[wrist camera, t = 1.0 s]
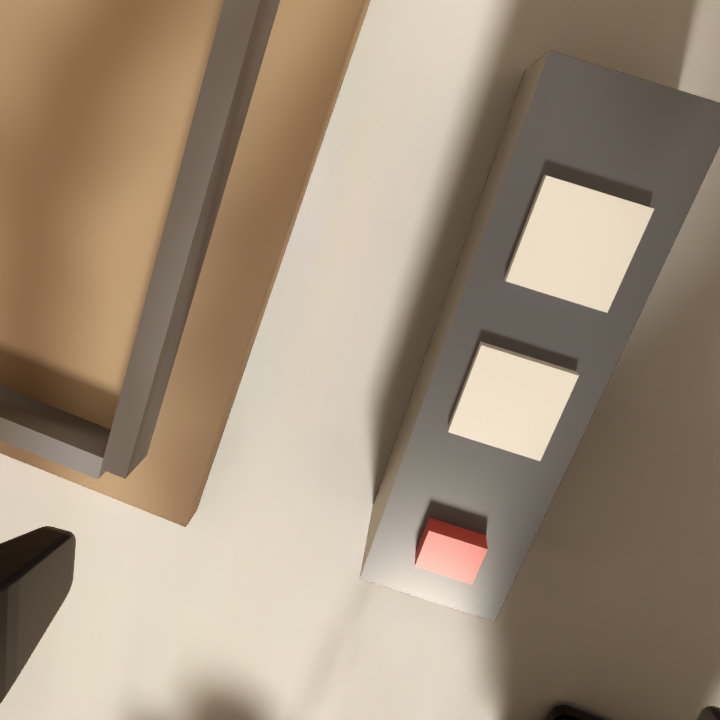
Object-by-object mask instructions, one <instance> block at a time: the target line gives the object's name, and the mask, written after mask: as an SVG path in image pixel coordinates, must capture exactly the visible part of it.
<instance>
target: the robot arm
mask: <svg viewBox="0 0 720 720" xmlns="http://www.w3.org/2000/svg"><path fill="white" fill-rule="evenodd" d="M75 546H76V539H75V536H74V534H73V533H71V532H69V531H66V530H62V529H58V528H54V527H50V526H45V527H41V528H38V529H36V530H33V531H31V532H28V533H26V534H23V535H21V536H18V537H16V538H13V539H11V540H8V541H6V542H3V543H1V544H0V703H1V702H2V701H3V699H4V698H5V696H6V695H7V693H8V692H9V690H10V689H11V687H12V685H13V684H14V682H15V681H16V679H17V677H18V676H19V674H20V673H21V671H22V669H23V668H24V666H25V664H26V663H27V661H28V659H29V658H30V656H31V654H32V653H33V651H34V649H35V648H36V646H37V645H38V643H39V641H40V640H41V638H42V636H43V635H44V633H45V631H46V630H47V628H48V626H49V625H50V623H51V621H52V620H53V618H54V617H55V615H56V613H57V612H58V610H59V608H60V607H61V605H62V603H63V602H64V600H65V598H66V597H67V595H68V593H69V591H70V588H71V585H72V581H73V573H74V560H75ZM545 720H603V719H600V718H598V717H595V716H593V715H590V714H588V713H585V712H583V711H580V710H578V709H575V708H573V707H570V706H566V705H560V706H557V707H554V708H553V709H552V710H551V711H550V713H549V714H548V715H547V717H546V718H545ZM696 720H720V708H719V707H715V706H707V707H706V708H704V709H703V710H702V711H701V712H700V714H699V716H698V718H697V719H696Z"/></svg>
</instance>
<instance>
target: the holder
mask: <svg viewBox="0 0 720 720" xmlns="http://www.w3.org/2000/svg"><path fill="white" fill-rule="evenodd" d="M369 3H370V0H0V453H1V454H4V455H6V456H9V457H11V458H14V459H16V460H19V461H21V462H24V463H26V464H29V465H31V466H34V467H36V468H39V469H42V470H44V471H47V472H49V473H52V474H54V475H57V476H59V477H62V478H64V479H67V480H69V481H72V482H74V483H77V484H79V485H82V486H84V487H87V488H89V489H92V490H94V491H97V492H99V493H102V494H104V495H107V496H109V497H112V498H114V499H117V500H119V501H122V502H124V503H127V504H129V505H132V506H134V507H137V508H139V509H142V510H144V511H147V512H149V513H152V514H154V515H157V516H159V517H162V518H164V519H167V520H169V521H172V522H174V523H177V524H179V525H182V526H184V527H186V526H187V525H188V523H189V521H190V520H191V518H192V517H193V515H194V514H195V512H196V511H197V508H198V505H199V502H200V499H201V496H202V493H203V490H204V487H205V484H206V481H207V479H208V476H209V473H210V470H211V467H212V464H213V461H214V458H215V455H216V452H217V449H218V446H219V443H220V440H221V437H222V434H223V432H224V429H225V426H226V423H227V420H228V417H229V414H230V411H231V408H232V405H233V402H234V399H235V396H236V393H237V390H238V388H239V385H240V382H241V379H242V376H243V373H244V370H245V367H246V364H247V361H248V358H249V355H250V352H251V349H252V346H253V343H254V341H255V338H256V335H257V332H258V329H259V326H260V323H261V320H262V317H263V314H264V311H265V308H266V305H267V302H268V299H269V297H270V294H271V291H272V288H273V285H274V282H275V279H276V276H277V273H278V270H279V267H280V264H281V261H282V258H283V255H284V253H285V250H286V247H287V244H288V241H289V238H290V235H291V232H292V229H293V226H294V223H295V220H296V217H297V214H298V211H299V208H300V206H301V203H302V200H303V197H304V194H305V191H306V188H307V185H308V182H309V179H310V176H311V173H312V170H313V167H314V164H315V162H316V159H317V156H318V153H319V150H320V147H321V144H322V141H323V138H324V135H325V132H326V129H327V126H328V123H329V120H330V117H331V115H332V112H333V109H334V106H335V103H336V100H337V97H338V94H339V91H340V88H341V85H342V82H343V79H344V76H345V73H346V71H347V68H348V65H349V62H350V59H351V56H352V53H353V50H354V47H355V44H356V41H357V38H358V35H359V32H360V29H361V26H362V24H363V21H364V18H365V15H366V12H367V9H368V6H369Z"/></svg>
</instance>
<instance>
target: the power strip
mask: <svg viewBox="0 0 720 720" xmlns="http://www.w3.org/2000/svg"><path fill="white" fill-rule="evenodd" d="M719 146H720V103H719V102H715V101H712V100H709V99H706V98H702V97H699V96H696V95H692V94H689V93H686V92H683V91H679V90H676V89H673V88H670V87H666V86H663V85H660V84H657V83H653V82H650V81H647V80H644V79H640V78H637V77H634V76H630V75H627V74H624V73H621V72H617V71H614V70H611V69H608V68H604V67H601V66H598V65H595V64H591V63H588V62H585V61H582V60H578V59H575V58H572V57H568V56H565V55H562V54H559V53H555V52H552V51H548V52H547V53H546V54H545V55H543V56H542V57H541V58H540V59H539V60H537V61H536V62H535V63H534V64H533V65H531V66H530V67H529V68H528V69H527V70H525V72H524V75H523V78H522V81H521V84H520V87H519V89H518V92H517V95H516V98H515V101H514V104H513V107H512V109H511V112H510V115H509V118H508V121H507V124H506V127H505V129H504V132H503V135H502V138H501V141H500V144H499V147H498V149H497V152H496V155H495V158H494V161H493V164H492V167H491V169H490V172H489V175H488V178H487V181H486V184H485V187H484V189H483V192H482V195H481V198H480V201H479V204H478V207H477V209H476V212H475V215H474V218H473V221H472V224H471V227H470V229H469V232H468V235H467V238H466V241H465V244H464V247H463V249H462V252H461V255H460V258H459V261H458V264H457V267H456V269H455V272H454V275H453V278H452V281H451V284H450V287H449V289H448V292H447V295H446V298H445V301H444V304H443V307H442V309H441V312H440V315H439V318H438V321H437V324H436V327H435V329H434V332H433V335H432V338H431V341H430V344H429V347H428V349H427V352H426V355H425V358H424V361H423V364H422V367H421V369H420V372H419V375H418V378H417V381H416V384H415V387H414V390H413V392H412V395H411V398H410V401H409V404H408V407H407V410H406V412H405V415H404V418H403V421H402V424H401V427H400V430H399V432H398V435H397V438H396V441H395V444H394V447H393V450H392V452H391V455H390V458H389V461H388V464H387V467H386V470H385V472H384V475H383V478H382V481H381V484H380V487H379V490H378V492H377V495H376V498H375V501H374V504H373V507H372V513H371V519H370V524H369V530H368V536H367V541H366V547H365V552H364V558H363V564H362V569H361V575H360V579H363V580H366V581H369V582H372V583H376V584H379V585H382V586H385V587H388V588H391V589H394V590H397V591H401V592H404V593H407V594H410V595H413V596H416V597H419V598H422V599H425V600H429V601H432V602H435V603H438V604H441V605H444V606H447V607H450V608H454V609H457V610H460V611H463V612H466V613H469V614H472V615H475V616H479V617H482V618H485V619H488V620H491V621H494V622H495V620H496V618H497V616H498V614H499V611H500V609H501V607H502V605H503V603H504V601H505V599H506V597H507V594H508V592H509V590H510V588H511V586H512V584H513V582H514V580H515V578H516V575H517V573H518V571H519V569H520V567H521V565H522V563H523V561H524V559H525V556H526V554H527V552H528V550H529V548H530V546H531V544H532V542H533V540H534V537H535V535H536V533H537V531H538V529H539V527H540V525H541V523H542V520H543V518H544V516H545V514H546V512H547V510H548V508H549V506H550V504H551V501H552V499H553V497H554V495H555V493H556V491H557V489H558V487H559V485H560V482H561V480H562V478H563V476H564V474H565V472H566V470H567V468H568V466H569V463H570V461H571V459H572V457H573V455H574V453H575V451H576V449H577V446H578V444H579V442H580V440H581V438H582V436H583V434H584V432H585V430H586V427H587V425H588V423H589V421H590V419H591V417H592V415H593V413H594V411H595V408H596V406H597V404H598V402H599V400H600V398H601V396H602V394H603V392H604V389H605V387H606V385H607V383H608V381H609V379H610V377H611V375H612V372H613V370H614V368H615V366H616V364H617V362H618V360H619V358H620V356H621V353H622V351H623V349H624V347H625V345H626V343H627V341H628V339H629V337H630V334H631V332H632V330H633V328H634V326H635V324H636V322H637V320H638V318H639V315H640V313H641V311H642V309H643V307H644V305H645V303H646V301H647V298H648V296H649V294H650V292H651V290H652V288H653V286H654V284H655V282H656V279H657V277H658V275H659V273H660V271H661V269H662V267H663V265H664V263H665V260H666V258H667V256H668V254H669V252H670V250H671V248H672V246H673V244H674V241H675V239H676V237H677V235H678V233H679V231H680V229H681V227H682V224H683V222H684V220H685V218H686V216H687V214H688V212H689V210H690V208H691V205H692V203H693V201H694V199H695V197H696V195H697V193H698V191H699V189H700V186H701V184H702V182H703V180H704V178H705V176H706V174H707V172H708V170H709V167H710V165H711V163H712V161H713V159H714V157H715V155H716V153H717V150H718V148H719Z"/></svg>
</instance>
